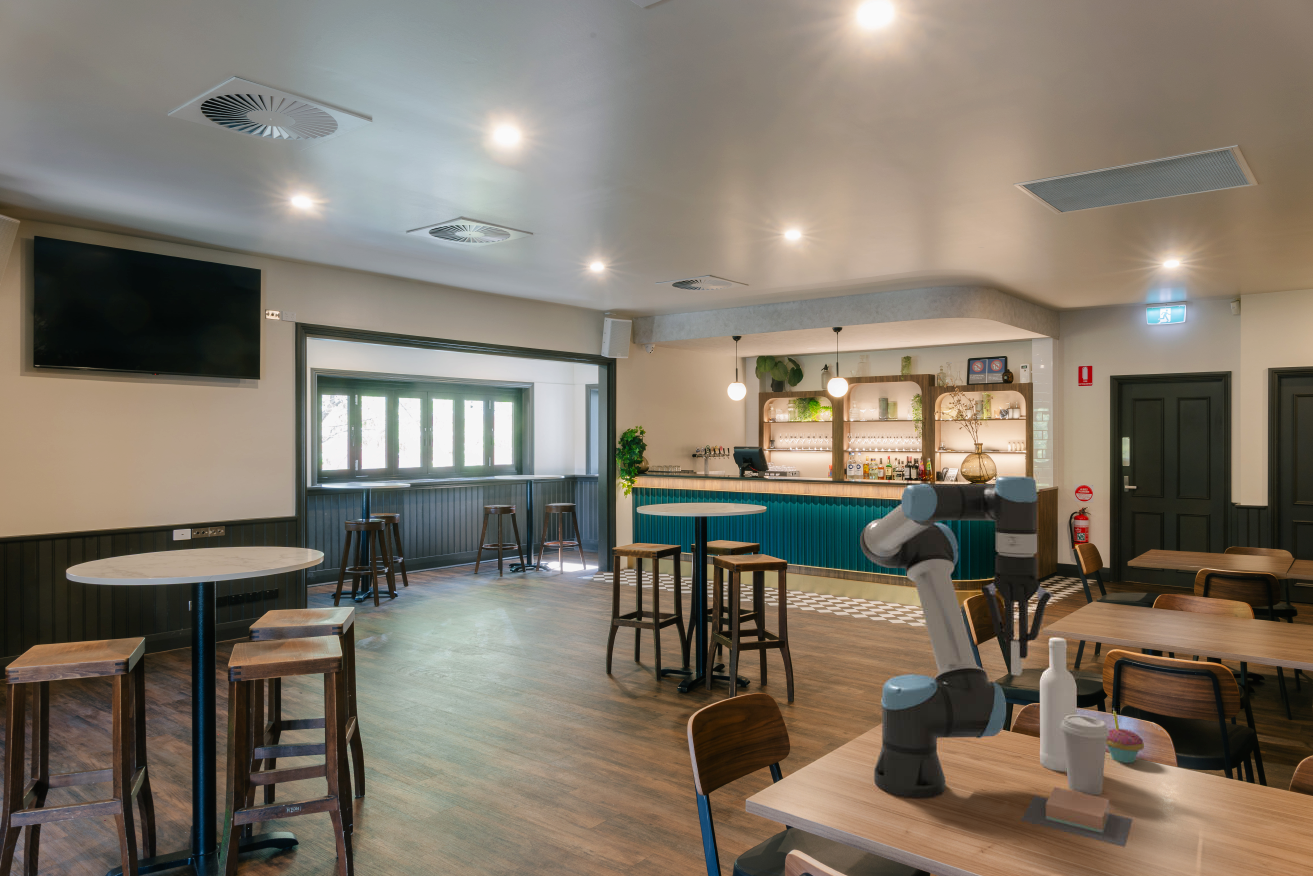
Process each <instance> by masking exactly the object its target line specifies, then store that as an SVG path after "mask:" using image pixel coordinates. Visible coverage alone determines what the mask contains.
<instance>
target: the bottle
mask: <svg viewBox="0 0 1313 876" xmlns="http://www.w3.org/2000/svg"><path fill="white" fill-rule="evenodd" d="M1048 647H1049V649H1048V650H1049V651H1048V652H1049V653H1048V655H1049V657H1048V659H1049V661H1048V662H1049V664H1048V665H1049V666H1048V668H1047V669H1045V670H1044V671H1043V672H1042V674H1041V676H1040V679H1039V734H1040V735H1039V739H1040V740H1039V743H1040V748H1039V759H1040V760H1039V762H1040V765H1042V766H1043V767H1044V768H1046V769H1049V770H1051V771H1054V772H1060V773H1067V767H1066V756H1065V746H1064V737H1063V730H1062V729H1061V728H1060V726H1061V723H1062V721H1064V718H1065V716H1068V715H1078V713H1077V710H1078V709H1077V707H1078V706H1077V705H1078V704H1077V701H1078V700H1077V697H1078V696H1077V695H1078V694H1077V687H1078V686H1077V683H1076V680H1075V677H1074V675H1073V674H1072V673H1071V672H1070V671H1069V670H1068V669H1067V648H1068V645H1067V640H1066V639H1065V638H1063V637H1050V638H1049V639H1048Z"/></svg>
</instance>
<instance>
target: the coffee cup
mask: <svg viewBox="0 0 1313 876" xmlns="http://www.w3.org/2000/svg"><path fill="white" fill-rule="evenodd" d="M1060 728H1061V729H1062V730H1063V737H1064V746H1065V756H1066V767H1067V772H1066V775H1067V776H1066V777H1067V786H1068V788H1069V790H1070V791H1075V792H1079V793H1083V794H1088V795H1092V796H1100V795H1101V794H1102V793H1103V781H1104V769H1105V759H1106V748H1107V744H1106V740H1107V736H1109V730H1108V729H1109V728H1107V726H1106V723H1105V722H1104V721H1103V720H1102V719H1099V718H1097V717H1093V716H1090V715H1082V714H1081V715H1080V714H1077V715H1068V716H1065V718H1064V721H1062V723H1061V726H1060Z"/></svg>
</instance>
